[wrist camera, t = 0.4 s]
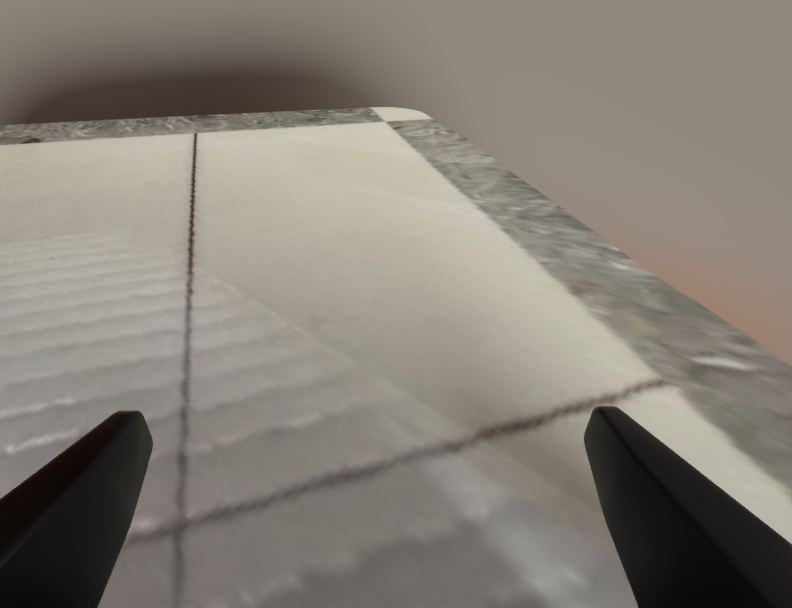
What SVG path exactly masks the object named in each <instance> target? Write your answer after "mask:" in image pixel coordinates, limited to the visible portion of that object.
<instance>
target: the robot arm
mask: <svg viewBox="0 0 792 608" xmlns="http://www.w3.org/2000/svg"><path fill="white" fill-rule="evenodd" d="M584 444H585V448H586V452H587V455H588V459H589V463H590V467H591V470H592V474H593V478H594V482H595V486H596V489H597V493H598V497H599V501H600V504H601V508H602V511H603V514H604V518H605V520H606V523H607V526H608V529H609V531H610V534H611V537H612V539H613V542H614V544H615V547H616V550H617V552H618V555H619V557H620V560H621V563H622V565H623V568H624V570H625V573H626V576H627V578H628V581H629V583H630V586H631V589H632V591H633V594H634V596H635V599H636V602H637V604H638V607H639V608H792V544H791V543H789V542H788V541H787V540H786V539H784V538H783V537H782V536H781V535H779V534H778V533H777V532H776V531H774V530H773V529H772V528H770V527H769V526H768V525H767V524H765V523H764V522H763V521H762V520H760V519H759V518H758V517H756V516H755V515H754V514H753V513H751V512H750V511H749V510H748V509H746V508H745V507H744V506H742V505H741V504H740V503H739V502H737V501H736V500H735V499H734V498H732V497H731V496H730V495H728V494H727V493H726V492H725V491H723V490H722V489H721V488H720V487H718V486H717V485H716V484H714V483H713V482H712V481H711V480H709V479H708V478H707V477H706V476H704V475H703V474H702V473H700V472H699V471H698V470H697V469H695V468H694V467H693V466H692V465H690V464H689V463H688V462H686V461H685V460H684V459H683V458H681V457H680V456H679V455H678V454H676V453H675V452H674V451H673V450H671V449H670V448H669V447H667V446H666V445H665V444H664V443H662V442H661V441H660V440H659V439H657V438H656V437H655V436H653V435H652V434H651V433H650V432H648V431H647V430H646V429H645V428H643V427H642V426H641V425H639V424H638V423H637V422H636V421H634V420H633V419H632V418H631V417H629V416H628V415H627V414H625V413H624V412H623V411H622V410H620V409H619V408H617V407H614V406H598V407H596V408H595V409H594V410H593V412H592V414H591V417H590V420H589V422H588V425H587V428H586V431H585V434H584ZM152 448H153V440H152V436H151V434H150V431H149V428H148V426H147V423H146V421H145V418H144V416H143V414H142V413H141V412H140V411H118V412H116V413H114V414H112V415H111V416H110V417H109V418H107V419H106V420H105V421H103V422H102V423H101V424H99V425H98V426H97V427H95V428H94V429H93V430H91V431H90V432H89V433H87V434H86V435H85V436H83V437H82V438H81V439H79V440H78V441H77V442H75V443H74V444H73V445H71V446H70V447H69V448H67V449H66V450H65V451H63V452H62V453H61V454H59V455H58V456H57V457H55V458H54V459H53V460H51V461H50V462H49V463H48V464H46V465H45V466H44V467H42V468H41V469H40V470H38V471H37V472H36V473H34V474H33V475H32V476H30V477H29V478H28V479H26V480H25V481H24V482H22V483H21V484H20V485H18V486H17V487H16V488H14V489H13V490H12V491H10V492H9V493H8V494H6V495H5V496H4V497H2V498H1V499H0V608H97V607H98V605H99V602H100V600H101V598H102V595H103V593H104V590H105V588H106V585H107V583H108V580H109V578H110V575H111V573H112V570H113V568H114V565H115V563H116V561H117V558H118V556H119V553H120V551H121V548H122V546H123V543H124V541H125V538H126V536H127V533H128V530H129V528H130V525H131V522H132V519H133V516H134V512H135V509H136V505H137V502H138V498H139V495H140V491H141V488H142V484H143V481H144V477H145V474H146V470H147V467H148V463H149V460H150V456H151V453H152Z"/></svg>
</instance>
